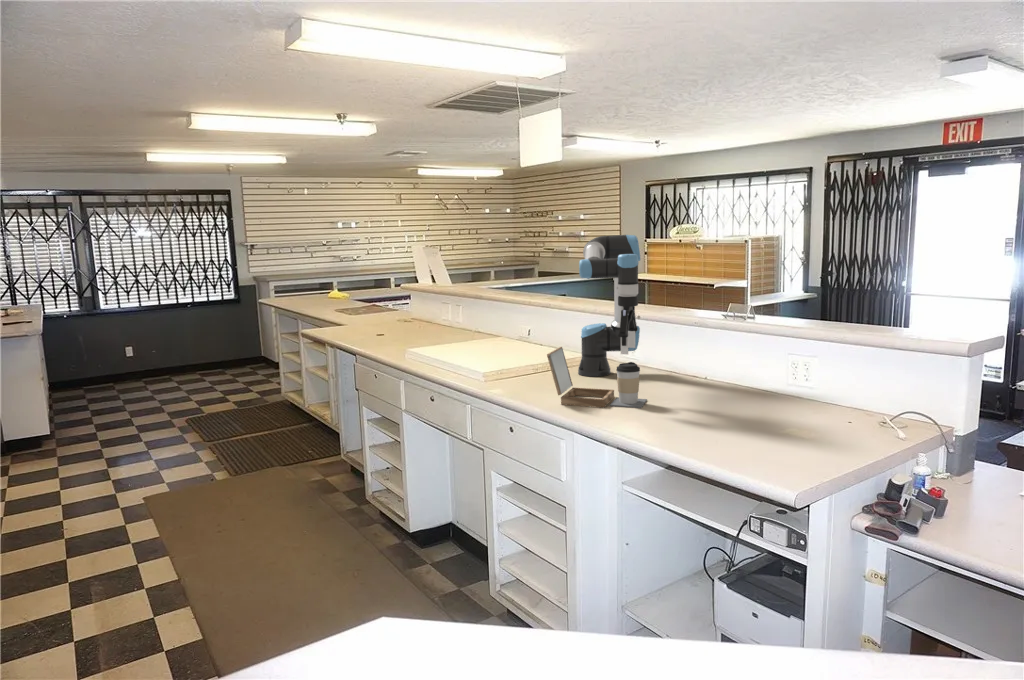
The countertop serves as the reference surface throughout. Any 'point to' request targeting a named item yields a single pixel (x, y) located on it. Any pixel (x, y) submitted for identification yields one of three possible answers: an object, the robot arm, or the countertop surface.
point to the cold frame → (575, 401)
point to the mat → (635, 405)
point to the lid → (559, 370)
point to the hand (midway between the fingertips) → (628, 350)
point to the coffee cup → (628, 382)
